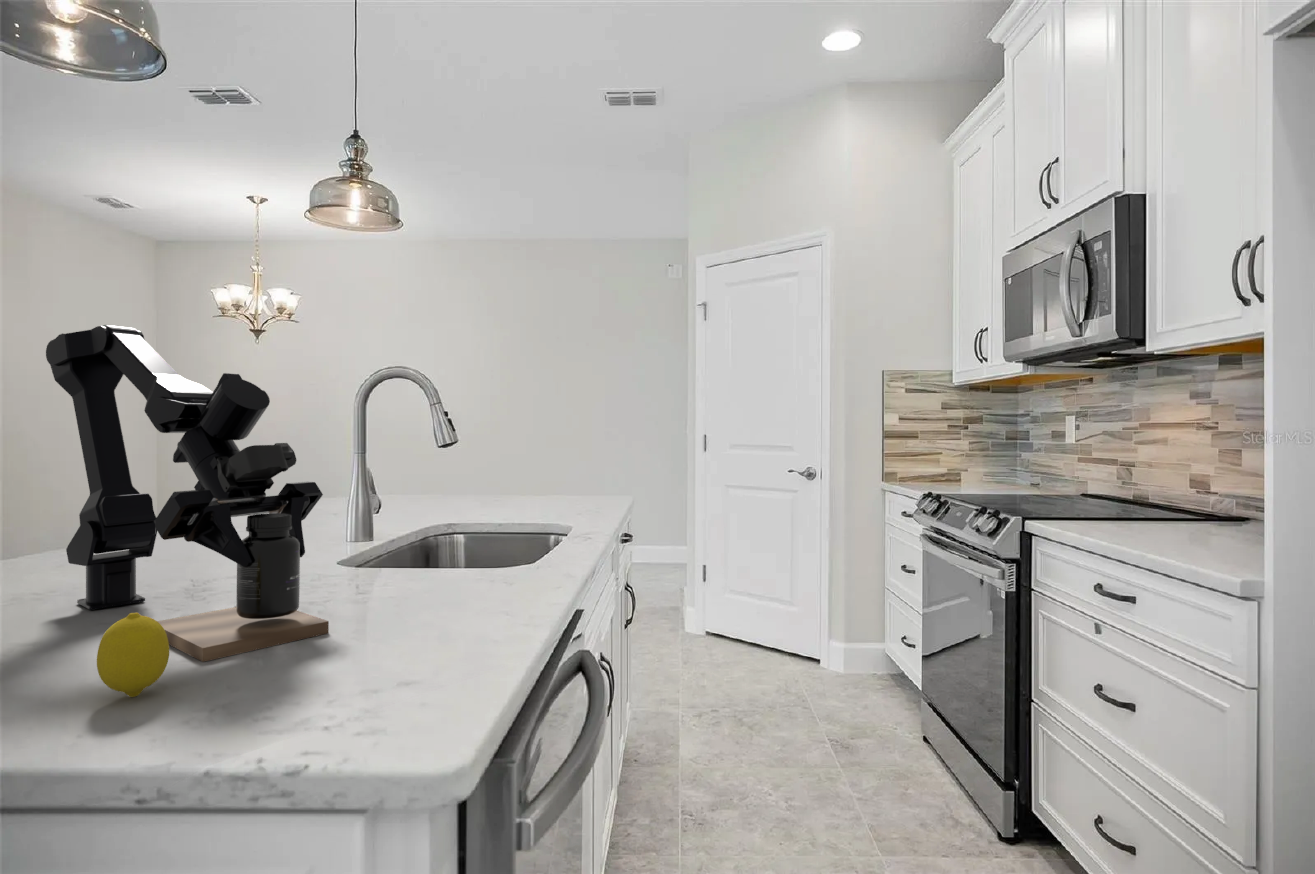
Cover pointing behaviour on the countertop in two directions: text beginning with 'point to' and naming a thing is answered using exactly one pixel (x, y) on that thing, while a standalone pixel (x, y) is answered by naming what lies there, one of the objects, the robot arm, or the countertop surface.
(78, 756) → the countertop surface
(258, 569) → the supplement bottle
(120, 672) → the lemon
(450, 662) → the countertop surface
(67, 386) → the robot arm
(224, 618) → the walnut board
